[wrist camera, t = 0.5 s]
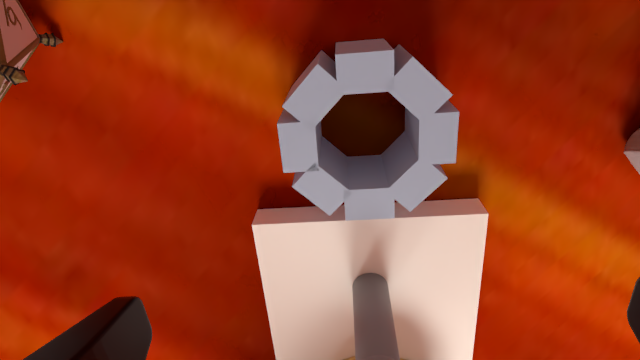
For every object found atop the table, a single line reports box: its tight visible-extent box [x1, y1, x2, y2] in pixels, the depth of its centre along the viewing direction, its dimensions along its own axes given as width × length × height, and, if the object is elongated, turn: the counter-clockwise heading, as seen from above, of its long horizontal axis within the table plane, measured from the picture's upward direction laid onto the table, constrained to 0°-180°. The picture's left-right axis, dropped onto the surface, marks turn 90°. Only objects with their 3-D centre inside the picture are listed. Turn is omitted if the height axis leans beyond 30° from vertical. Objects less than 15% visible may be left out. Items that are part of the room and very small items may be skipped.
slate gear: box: [277, 38, 459, 221], centre depth 17 cm, size 7×7×4 cm
